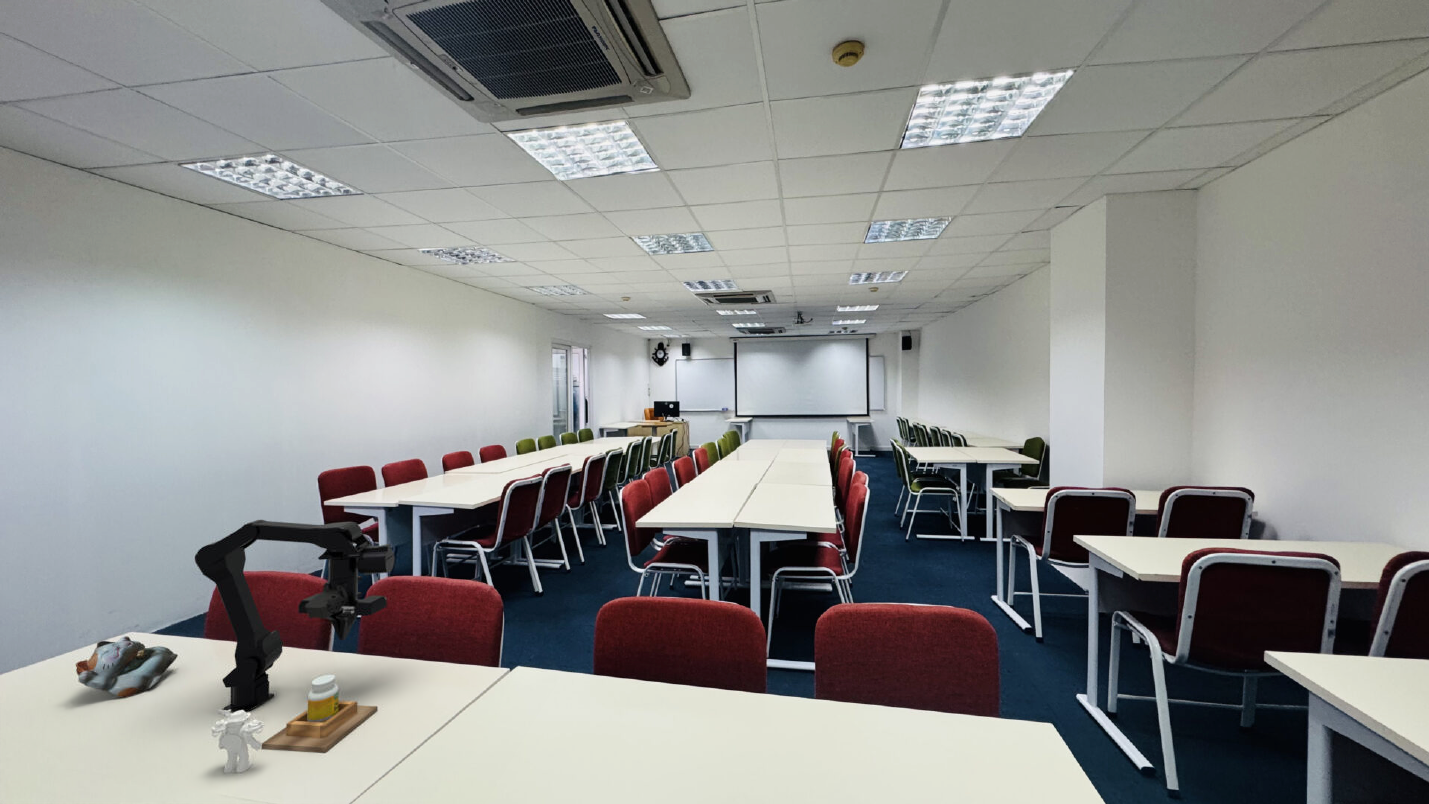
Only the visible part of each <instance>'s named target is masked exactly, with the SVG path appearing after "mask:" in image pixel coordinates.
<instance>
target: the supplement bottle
mask: <svg viewBox="0 0 1429 804" xmlns="http://www.w3.org/2000/svg"><path fill="white" fill-rule="evenodd" d="M339 692H340V689H339V686H338V684H336V675H335V674H325V675H321V676H318V677H317V678H315V679H313V680H312V681H311V691H310V692H308V694H307V709H306V710H307V722H320V723H325V722H326V721H327V720H329V719H330V718H331V717H333V716H334V715H336V714H337V713H338V703H339V701H340V700H339V699H340V697H339V695H340V693H339Z"/></svg>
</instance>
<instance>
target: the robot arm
mask: <svg viewBox="0 0 1429 804" xmlns="http://www.w3.org/2000/svg"><path fill="white" fill-rule="evenodd" d="M258 540H259V541H260V540H261V541H271V542H273V541H274V542H291V543H301V544H302V543H303V544H305V543H306V544H311V545H315V546H317V547H318V548H321V549H325V551H324V552H323V553H322V554H321V555H320V556H318V558H317V559H318V560H319V561H321V560H323V561H324V560H328V581H326V582H325V583H324V584H323V586H322V592H320V593H316V594H313V595H311V596H309V597H306V598H304V599H302V600H301V601H300V602H299V604H298V607H297V609H298V610H297V611H298V612H297V613H298V614H307V616H308V618H309V619H313V618H317V619H326V620H329V621H330V623H331V625H332V627H333V629H334V632H335V633H336V635H337V638H338V640H340V641H344V640H346V639H347V637H348V635H349V633H350V631H351V629H352V627H353V626H354V623H355V621H356V620H357V618H358V617H359V616H360V617H361V616H363V617H364V616H365V617H369V616H372V615H374V614H376V613H377V612H379V611H381V610H383V609H385V608H386V607H387V605H388V600H387V597H386V596H384V595H369V596H367V597H365V598H363V599H359V598H361V597H362V595H363V594H362V592H360V591H358V590H359V589H358V585H359V582H360V581H362V579H363V577H362V575H376V574H388V573H389V574H390V573H391V572H392V570H393V569H394V565H395V559H396V558H395V553H394V550H393V549H392V544H390V543H389V544H387V543H386V544H381V545H372V544H373V543H372V542H371V541H370V540H369V539H368V538H367V537H366V536H365V534H364V533H363V532H362V529H361V526H360V525H359V524H358V523H357V522H355V521H342V522H332V523H326V524H325V523H324V524H313V523H311V524H310V523H297V522H284V521H283V522H282V521H272V520H271V521H270V520H269V521H268V520H266V519H257V520H254V521H251V522H248V523H244V525H241V527H240V528H238V529H237V530H235V531H233V532H232V533H230V534H229V535H227V536H225V537H223V538H222V539H220V540H217V541H214V542H212V543H209V544H206V545H203V546H201V548H200V549H198V550H197V552H196V554H195V555H194V562H195V564H196V566H197V567H198V569H199V570H200V572H201V573H202V575H203V576H204V577H206V578H207V579H209V580H210V581H212V582H213V583H215V585H216V588H217V591H218V593H219V596H220V599H221V602H222V603H223V606H224V609H225V612H226V614H227V617H228V619H229V622H230V625H231V627H232V629H233V632H234V635H235V638H236V644H235V645H236V646H235V651H234V661H235V668H233V669H232V670H231V671H230V672H229V673H227V675H226V676H225V677H223V678H222V683H223V685H224V687H225V688H230V703H229V704H228V705H225V706H224V707H223V708H222V709H223V710H226V711H227V710H231V711H230V712H236V711H240V710H244V712H246V713H249V712H251V711H252V710H254V709H256V708H257V707H259V706H260V705H262V704H264V703H266V702H267V701H268V700H270V699H272V698H274V697H275V693H270V681H269V673H267V672H268V670H269V669H271V668H273V666H274V664H275V662H276V661H277V660H278V659H280V656H281V655H282V654H283V646H284V645H285V643H284V641H282V638H281V633H280V631H279V630H278V629H276V630H274V631H272V632H271V631H270V630H268V629H267V628H266V627H265V626H264V624H263V621H262V618H261V616H260V614H259V611H258V607H257V605H256V602H255V601H254V597H253V595H252V593H251V590H250V588H249V584H248V581H247V579H246V576H245V573H244V569H245V567H246V566H245V564H246V560H247V559H246V558H247V557H246V549H248V548H249V547H250V546H251V545H253V544H254V543H256V541H258ZM359 573H360V574H361V575H359Z"/></svg>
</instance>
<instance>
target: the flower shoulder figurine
mask: <svg viewBox="0 0 1429 804" xmlns="http://www.w3.org/2000/svg"><path fill="white" fill-rule="evenodd" d="M222 709H223V708H221V709H218V710H217V712H218V714H220V716H223V715H224V716H225V717H222V719H221V720H219V721H216V722H215V725H214V726H212V727H211V729H210V730H211V736H212V737H213V738H217V737H218V736H219V735H220V736H219V738H218V749H219V750H225V751H227V761H226V763H225V767H224V770H223V772H224V773H225V774H229V773H232V772H234V771H236V773H243V772H245V771H247V770H249V769H250V768H251V767H252V766H253V761H252V760H250V759H249V758H250V755H249V747H248V745H249V746H250V747H251V748H252V749H254V750H255V751H256V752H258V750H260V749H262V743H263V742H262V741H259V740H257V739H256V738H255V737H254V736H253V733H256V734H261V733H263V731H264V727H265V725H264V724H265V722H264V721H261V720H258V719H259V717H257V719H253V720H252V721H250V716H251V714H252V713H251V712H244V710H240V711H233V713H232V711H231V710H227V711H226V710H222ZM226 717H228V718H227V719H226ZM238 758H239V759H238Z"/></svg>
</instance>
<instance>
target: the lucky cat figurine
mask: <svg viewBox="0 0 1429 804" xmlns="http://www.w3.org/2000/svg"><path fill="white" fill-rule="evenodd" d="M178 657H179V655H178V654H177V653H174V652H173V650H171V649H170V648H168V647H165V646H160V645H159V646H152V647H146V645H144V643H142V642H140V641H138V640H131V638H130V637H129V636H127V635H124V636H121V638H119V640H117V641H108V640H100V641H99V642H97V643H96V647H95V648H94V651H93V653H92V654H91V657H90V658H89V659H85V660H80V661H78V662H77V663H75V667H76V670H75V672H76V675H77V676H78V682H79V683H80V684H83V685H84V686H85V687H89V688H93V689H95V690H100V691H102V692H103V691H104V692H106V693H109V694H113V696H116V697H118V698H128V697H132V696H135V695H138V694H139V695H140V694H142V693H144V692H146V691H147V690H149V689H151V687H152V686H154V685H155V684H157V683H158V681H159V680H160V679H161V677H162V675H163V674H165V672H166V671H167V669H169V667H170V666H171V665H172V664H173V663H174V662H175V661H176V660H177V658H178Z"/></svg>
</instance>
